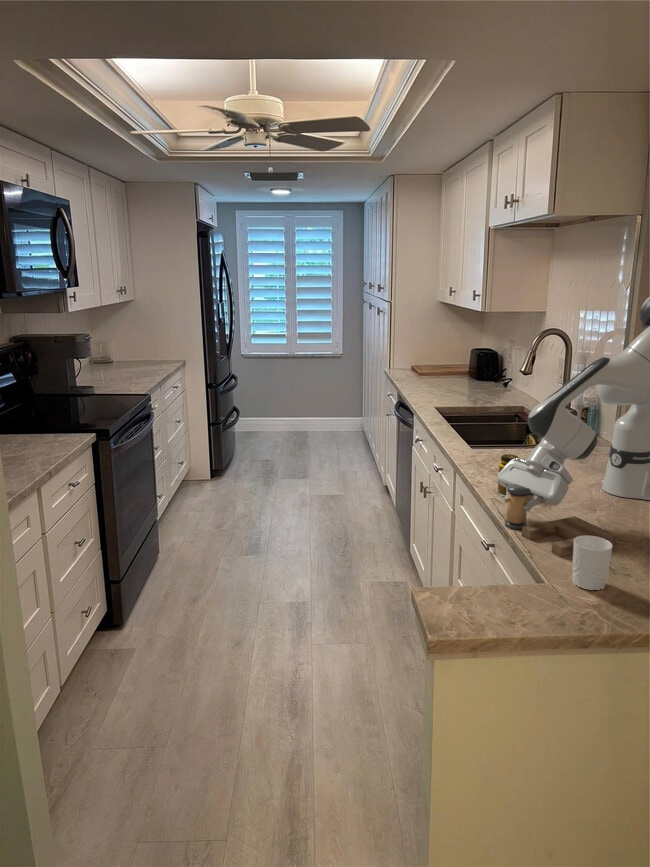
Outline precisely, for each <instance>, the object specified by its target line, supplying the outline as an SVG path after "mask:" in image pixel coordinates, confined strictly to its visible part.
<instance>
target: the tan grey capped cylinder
mask: <svg viewBox="0 0 650 867" xmlns="http://www.w3.org/2000/svg"><path fill="white" fill-rule="evenodd" d="M507 491H508V498H506V499H505V502H508V503H507V505H506V506H507V510H506V519H505V521H504V527H506V528H507V529H510V530H515V531H522V527H524V526H528V522H527V512H528V511H526V510H524V509H523V508H522V506H523V505H524V503H525V502H527V503H528V497H529V496H528V494H529V492H530V489H529V488H526V487H523V486H520V485H517V484H513V485H509V486H508V487H507ZM505 502H504V503H505Z"/></svg>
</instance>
